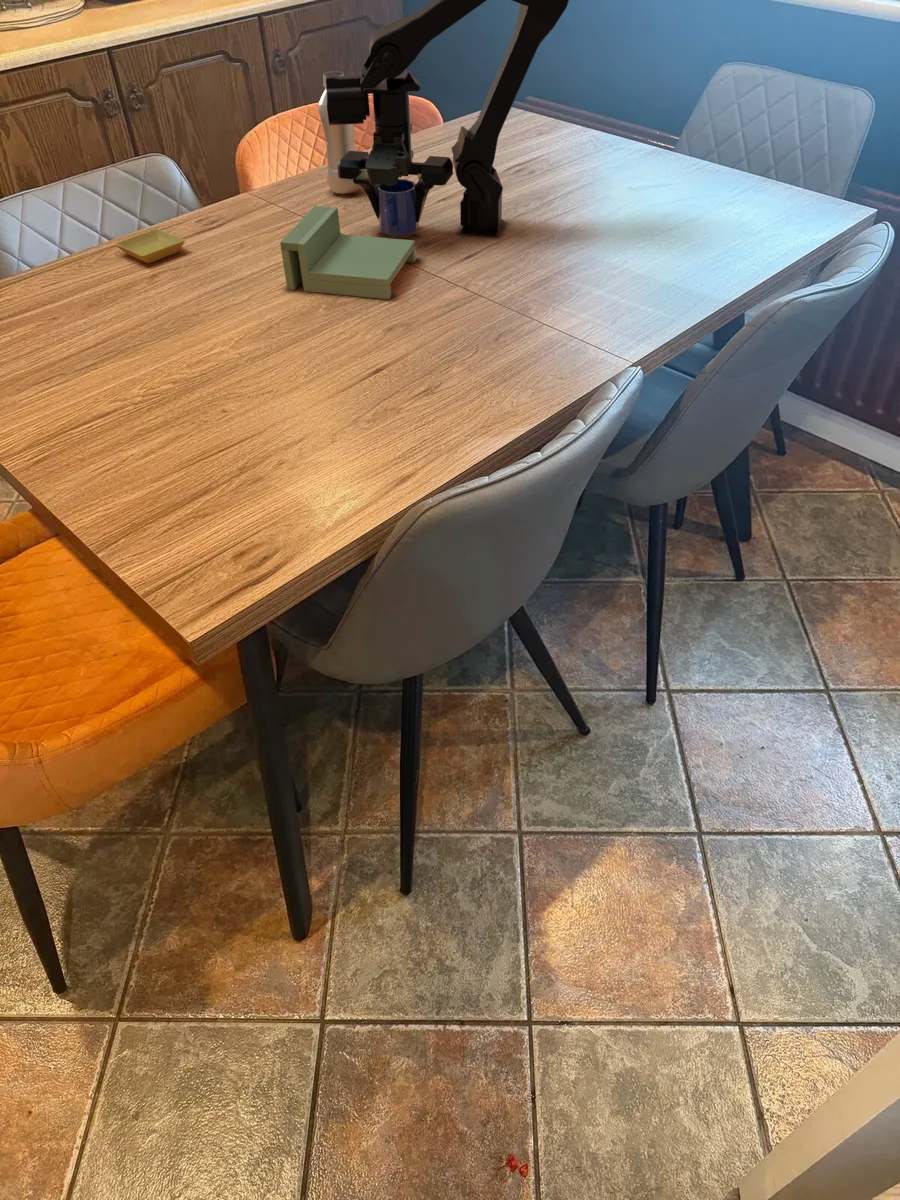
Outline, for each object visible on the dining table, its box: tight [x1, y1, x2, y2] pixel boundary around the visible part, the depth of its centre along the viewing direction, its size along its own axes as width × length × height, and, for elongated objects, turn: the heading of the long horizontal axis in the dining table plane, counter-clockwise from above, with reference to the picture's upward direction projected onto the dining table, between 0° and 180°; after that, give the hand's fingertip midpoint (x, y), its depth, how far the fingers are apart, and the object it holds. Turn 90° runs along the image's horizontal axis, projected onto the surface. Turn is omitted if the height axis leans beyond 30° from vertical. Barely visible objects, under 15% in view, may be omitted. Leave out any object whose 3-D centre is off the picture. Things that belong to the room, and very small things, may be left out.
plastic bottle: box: [317, 70, 361, 195], centre depth 159 cm, size 6×7×20 cm
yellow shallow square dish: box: [115, 228, 186, 264], centre depth 147 cm, size 9×9×2 cm
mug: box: [376, 178, 420, 236], centre depth 147 cm, size 7×9×7 cm
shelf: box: [279, 205, 417, 300], centre depth 137 cm, size 17×15×8 cm
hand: (398, 220), depth 150 cm, fingers closed on mug, 7 cm apart
